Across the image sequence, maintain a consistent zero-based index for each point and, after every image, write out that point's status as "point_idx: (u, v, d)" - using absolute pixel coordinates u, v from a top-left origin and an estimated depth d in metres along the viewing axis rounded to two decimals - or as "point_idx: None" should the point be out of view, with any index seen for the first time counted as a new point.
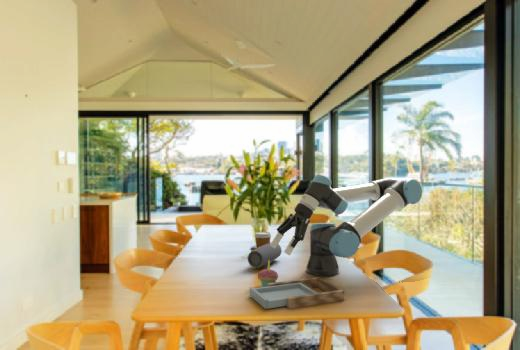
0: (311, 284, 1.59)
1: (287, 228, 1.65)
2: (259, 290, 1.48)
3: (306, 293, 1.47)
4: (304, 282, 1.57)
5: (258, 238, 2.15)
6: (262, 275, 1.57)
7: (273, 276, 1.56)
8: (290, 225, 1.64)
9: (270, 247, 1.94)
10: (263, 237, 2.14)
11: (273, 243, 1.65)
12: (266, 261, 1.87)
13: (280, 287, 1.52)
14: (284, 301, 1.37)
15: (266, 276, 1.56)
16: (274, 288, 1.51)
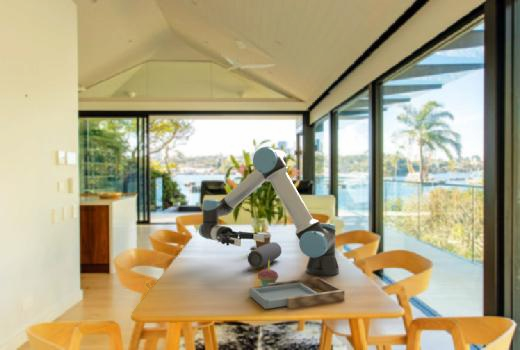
0: (311, 284, 1.59)
1: (245, 235, 1.77)
2: (259, 290, 1.48)
3: (306, 293, 1.47)
4: (304, 282, 1.57)
5: None
6: (262, 275, 1.57)
7: (273, 276, 1.56)
8: (241, 236, 1.77)
9: (270, 247, 1.94)
10: None
11: (261, 240, 1.72)
12: (266, 261, 1.87)
13: (280, 287, 1.52)
14: (284, 301, 1.37)
15: (266, 276, 1.56)
16: (274, 288, 1.51)
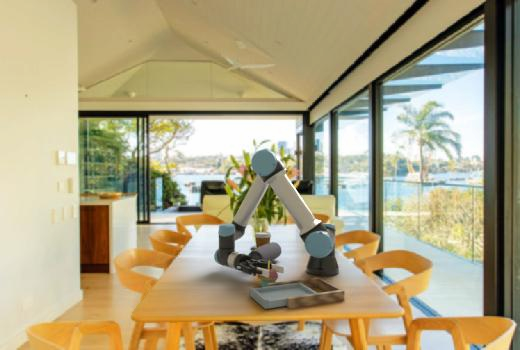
0: (311, 284, 1.59)
1: (263, 265, 1.66)
2: (259, 290, 1.48)
3: (306, 293, 1.47)
4: (304, 282, 1.57)
5: (258, 238, 2.15)
6: None
7: (273, 276, 1.57)
8: (259, 265, 1.67)
9: (270, 247, 1.94)
10: (263, 237, 2.14)
11: (280, 271, 1.60)
12: None
13: (280, 287, 1.52)
14: (284, 301, 1.37)
15: None
16: (274, 288, 1.51)
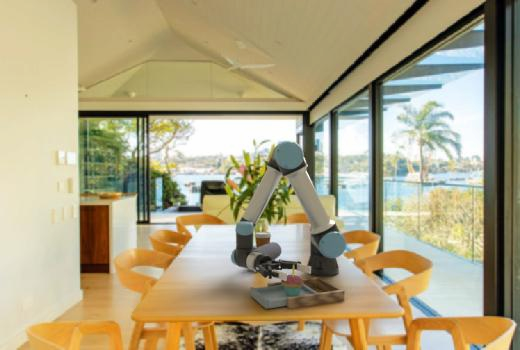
0: (311, 284, 1.59)
1: (287, 265, 1.54)
2: (260, 290, 1.48)
3: (307, 293, 1.47)
4: (304, 282, 1.57)
5: (258, 238, 2.15)
6: (286, 282, 1.43)
7: (298, 282, 1.43)
8: (282, 265, 1.54)
9: (270, 247, 1.94)
10: (263, 237, 2.14)
11: (306, 271, 1.49)
12: None
13: (281, 287, 1.52)
14: (285, 301, 1.37)
15: (291, 282, 1.43)
16: (275, 288, 1.51)
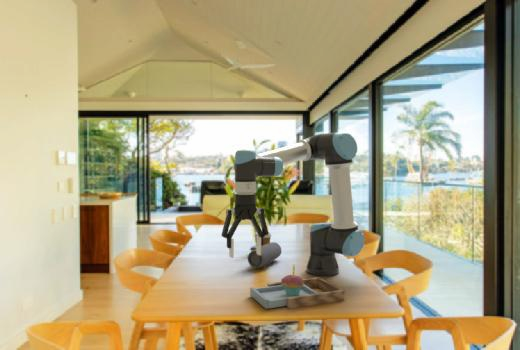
0: (311, 284, 1.59)
1: None
2: (260, 290, 1.48)
3: (307, 293, 1.47)
4: (304, 282, 1.57)
5: None
6: (286, 282, 1.43)
7: (299, 283, 1.43)
8: None
9: (270, 247, 1.94)
10: (263, 237, 2.14)
11: None
12: (266, 261, 1.87)
13: (281, 287, 1.52)
14: (285, 301, 1.37)
15: (291, 282, 1.42)
16: (275, 288, 1.51)
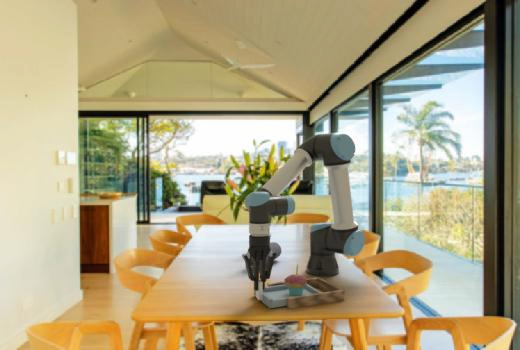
0: (311, 284, 1.59)
1: None
2: None
3: (310, 292, 1.48)
4: None
5: None
6: (290, 282, 1.44)
7: (302, 282, 1.43)
8: None
9: (270, 247, 1.94)
10: None
11: None
12: (266, 261, 1.87)
13: (284, 287, 1.52)
14: None
15: (294, 282, 1.43)
16: (278, 288, 1.51)
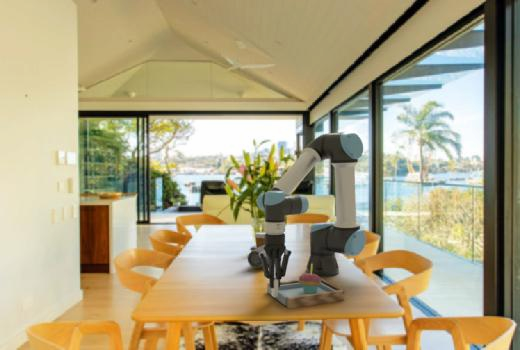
0: None
1: None
2: (278, 288, 1.51)
3: (324, 290, 1.50)
4: None
5: (258, 238, 2.15)
6: (304, 280, 1.46)
7: (316, 280, 1.46)
8: None
9: None
10: (263, 237, 2.14)
11: None
12: None
13: (298, 285, 1.55)
14: None
15: (309, 280, 1.45)
16: (292, 286, 1.54)
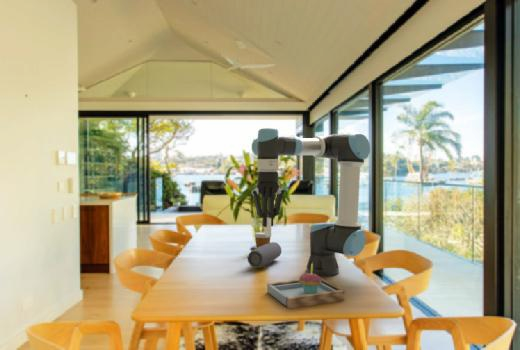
0: None
1: None
2: (278, 288, 1.51)
3: (324, 290, 1.50)
4: None
5: (258, 238, 2.15)
6: (304, 280, 1.46)
7: (317, 280, 1.46)
8: None
9: (270, 247, 1.94)
10: (263, 237, 2.14)
11: None
12: (266, 261, 1.87)
13: (298, 285, 1.55)
14: None
15: (309, 280, 1.45)
16: (292, 286, 1.54)
